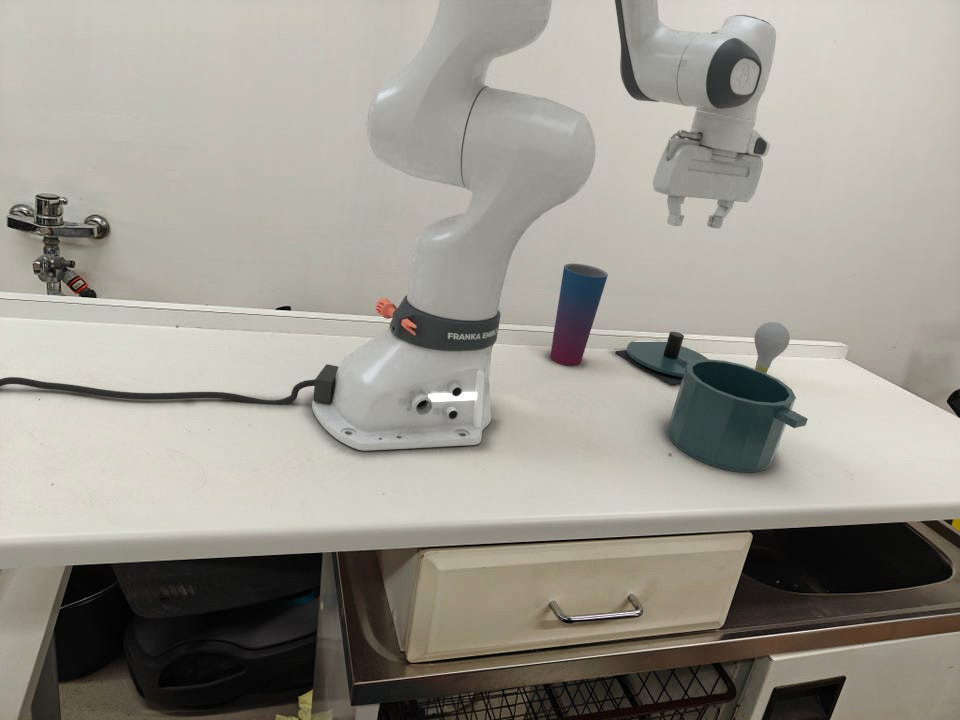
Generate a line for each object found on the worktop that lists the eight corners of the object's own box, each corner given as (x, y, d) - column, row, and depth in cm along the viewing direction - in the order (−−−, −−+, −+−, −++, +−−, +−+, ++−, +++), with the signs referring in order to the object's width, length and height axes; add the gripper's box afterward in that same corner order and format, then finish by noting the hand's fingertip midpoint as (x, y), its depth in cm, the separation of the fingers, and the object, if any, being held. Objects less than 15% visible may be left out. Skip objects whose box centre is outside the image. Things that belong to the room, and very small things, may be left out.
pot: (744, 492, 85) (770, 422, 82) (633, 418, 99) (650, 355, 96) (810, 473, 93) (836, 407, 89) (697, 407, 107) (716, 348, 103)
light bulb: (781, 383, 123) (801, 328, 119) (761, 385, 120) (780, 329, 116) (756, 369, 127) (774, 316, 123) (735, 372, 124) (753, 317, 120)
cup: (584, 371, 112) (607, 280, 107) (542, 361, 113) (562, 270, 108) (587, 357, 119) (608, 269, 113) (547, 347, 119) (566, 260, 114)
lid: (671, 385, 112) (680, 355, 110) (608, 349, 123) (615, 320, 121) (730, 376, 120) (739, 348, 118) (666, 343, 131) (673, 316, 129)
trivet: (670, 385, 113) (671, 383, 113) (614, 353, 123) (615, 350, 123) (723, 377, 120) (724, 375, 120) (666, 347, 130) (667, 345, 130)
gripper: (689, 131, 101) (663, 229, 106) (777, 146, 112) (749, 233, 117) (656, 125, 105) (633, 218, 110) (744, 139, 117) (719, 223, 122)
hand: (694, 226), depth 114 cm, fingers open, 8 cm apart
